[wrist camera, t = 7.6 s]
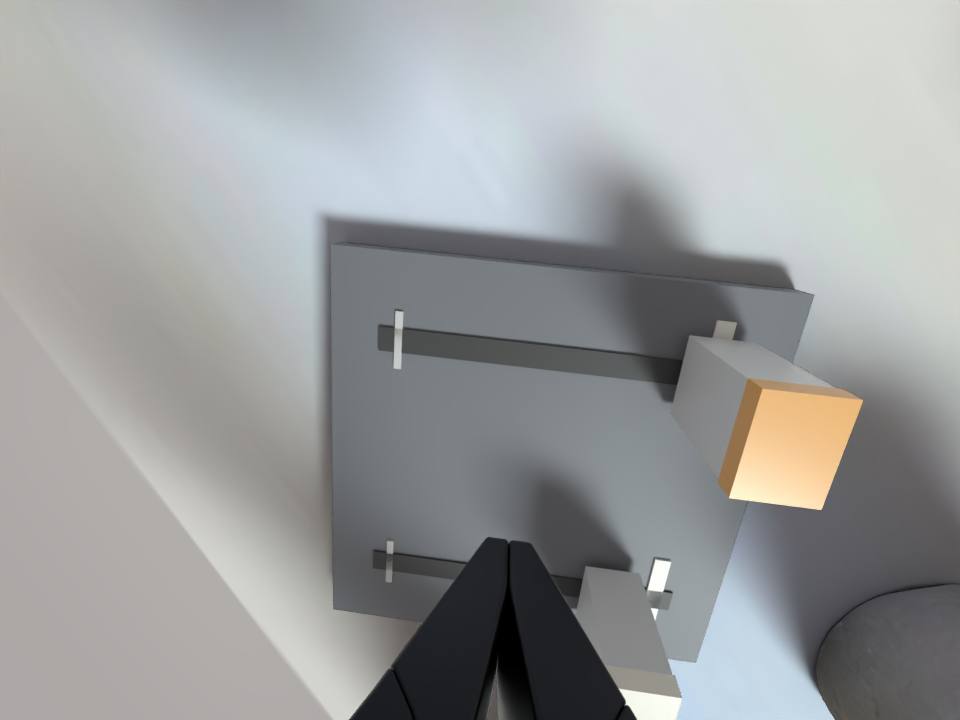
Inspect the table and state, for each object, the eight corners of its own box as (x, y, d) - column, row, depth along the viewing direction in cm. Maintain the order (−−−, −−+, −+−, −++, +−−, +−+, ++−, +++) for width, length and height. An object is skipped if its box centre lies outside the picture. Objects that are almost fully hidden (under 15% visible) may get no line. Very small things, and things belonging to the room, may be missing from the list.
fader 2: (733, 422, 18) (821, 510, 13) (668, 414, 18) (729, 498, 13) (757, 341, 17) (863, 400, 12) (688, 333, 17) (762, 388, 12)
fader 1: (626, 629, 22) (660, 765, 16) (573, 621, 22) (589, 754, 16) (640, 572, 21) (682, 698, 15) (584, 564, 21) (606, 687, 15)
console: (687, 640, 24) (696, 664, 22) (342, 590, 24) (332, 610, 23) (796, 289, 18) (816, 295, 17) (342, 242, 19) (329, 244, 18)
